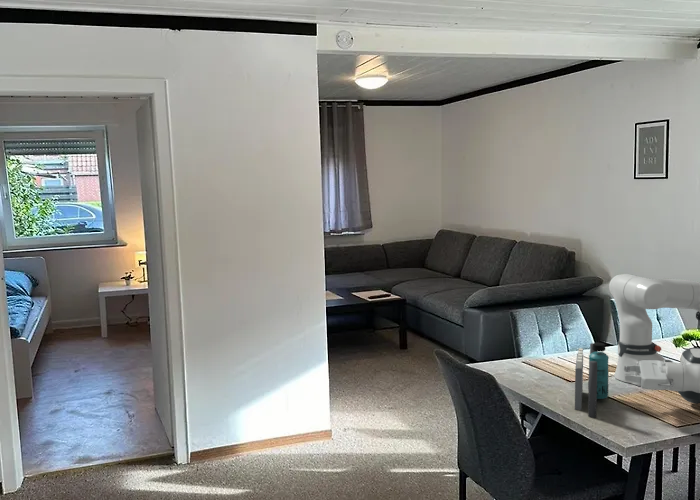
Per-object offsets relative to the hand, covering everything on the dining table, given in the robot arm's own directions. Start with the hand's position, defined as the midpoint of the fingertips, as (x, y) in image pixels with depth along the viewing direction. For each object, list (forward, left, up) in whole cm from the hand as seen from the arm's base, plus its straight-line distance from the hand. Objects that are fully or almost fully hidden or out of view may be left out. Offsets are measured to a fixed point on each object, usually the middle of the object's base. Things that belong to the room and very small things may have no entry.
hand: (624, 372), depth 206 cm
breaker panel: (+13, -5, -12) cm, 19 cm away
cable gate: (+9, -2, -12) cm, 16 cm away
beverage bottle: (+7, -7, -12) cm, 16 cm away
